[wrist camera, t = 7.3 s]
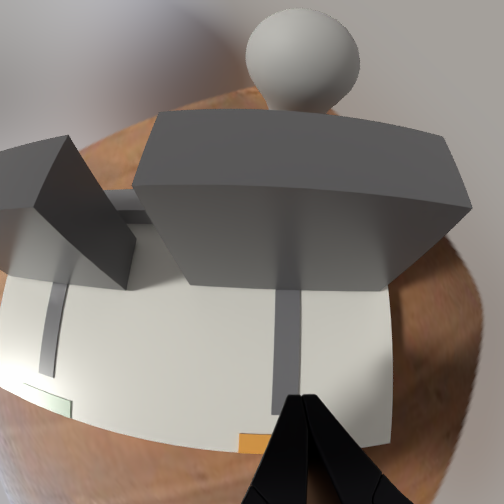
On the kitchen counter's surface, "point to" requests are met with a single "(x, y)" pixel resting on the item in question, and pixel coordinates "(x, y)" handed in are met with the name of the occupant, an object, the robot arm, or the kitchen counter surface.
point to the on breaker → (60, 219)
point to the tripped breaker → (296, 197)
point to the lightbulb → (302, 60)
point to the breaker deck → (195, 352)
